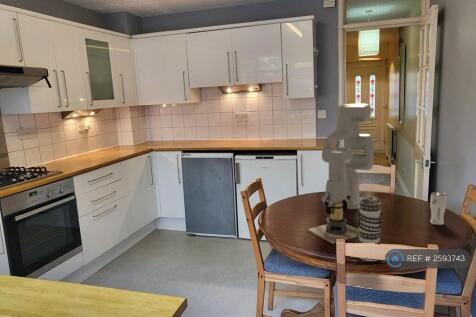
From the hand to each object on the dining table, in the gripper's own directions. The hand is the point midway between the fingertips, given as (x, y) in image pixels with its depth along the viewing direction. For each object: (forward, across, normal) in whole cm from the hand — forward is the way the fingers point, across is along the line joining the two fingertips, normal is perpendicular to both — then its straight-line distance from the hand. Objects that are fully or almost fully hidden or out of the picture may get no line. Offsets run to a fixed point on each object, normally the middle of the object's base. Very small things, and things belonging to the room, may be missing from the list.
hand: (336, 211), depth 172 cm
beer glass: (+11, -50, +17) cm, 54 cm away
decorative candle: (+10, +6, +26) cm, 29 cm away
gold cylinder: (+10, 0, 0) cm, 10 cm away
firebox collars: (+10, 0, 0) cm, 11 cm away
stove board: (+10, 0, 0) cm, 11 cm away
